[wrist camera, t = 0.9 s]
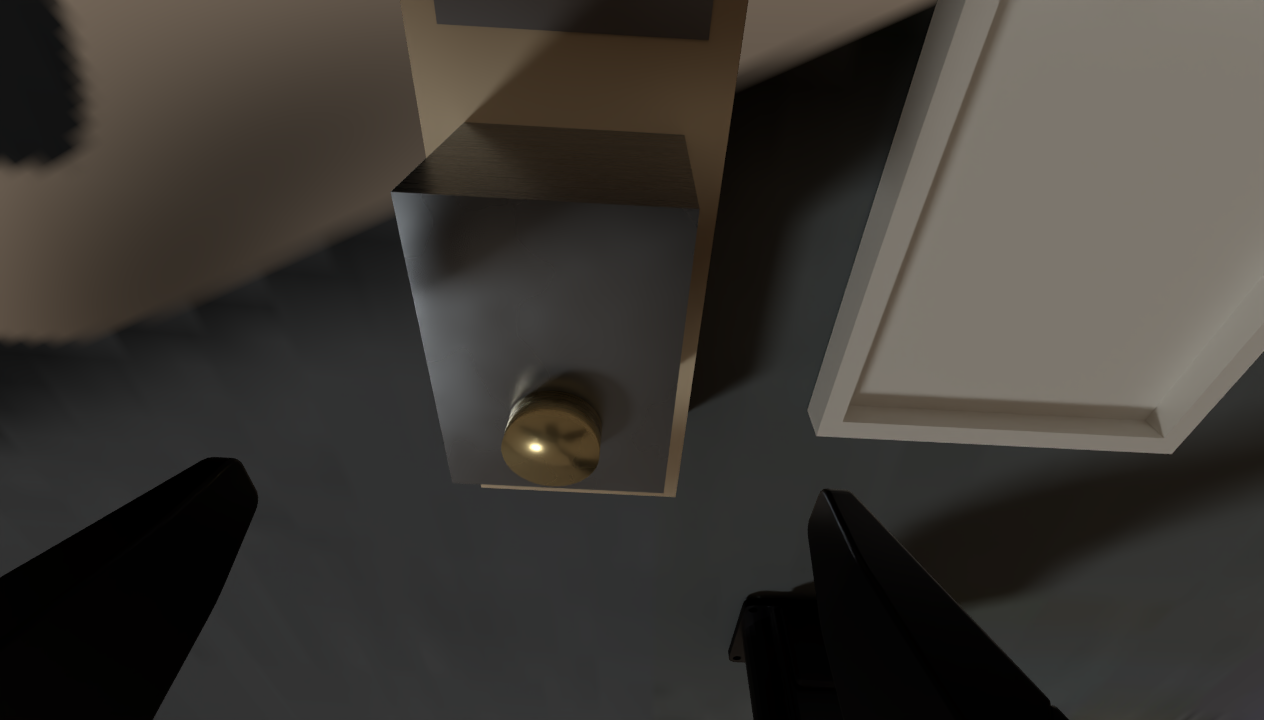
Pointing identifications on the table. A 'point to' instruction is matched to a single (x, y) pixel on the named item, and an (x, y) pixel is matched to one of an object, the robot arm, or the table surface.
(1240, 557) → the table surface
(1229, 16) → the parts tray
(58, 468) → the table surface
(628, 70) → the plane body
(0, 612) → the robot arm
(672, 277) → the dark grey block
